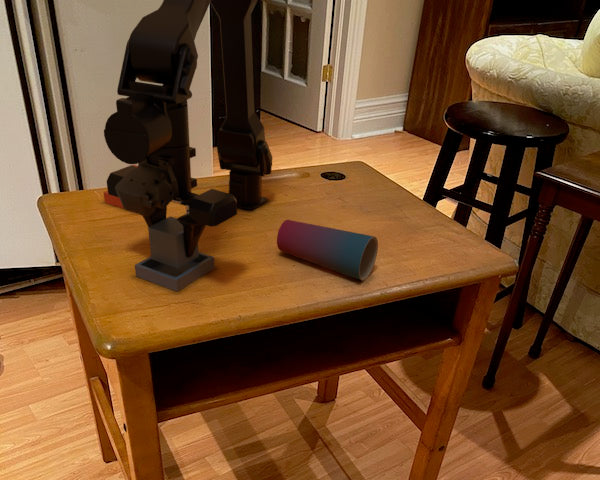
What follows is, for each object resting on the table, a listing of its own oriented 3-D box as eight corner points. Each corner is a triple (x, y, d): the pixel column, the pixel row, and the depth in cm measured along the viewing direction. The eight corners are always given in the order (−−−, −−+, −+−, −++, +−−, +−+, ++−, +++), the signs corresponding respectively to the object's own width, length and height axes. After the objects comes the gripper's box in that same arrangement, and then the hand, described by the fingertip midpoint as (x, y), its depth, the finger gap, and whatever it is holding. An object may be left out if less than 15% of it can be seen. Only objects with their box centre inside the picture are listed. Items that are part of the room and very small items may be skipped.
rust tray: (138, 188, 113) (137, 178, 112) (170, 198, 111) (169, 188, 110) (104, 202, 107) (103, 192, 106) (137, 213, 104) (136, 202, 103)
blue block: (172, 247, 90) (170, 216, 87) (198, 256, 88) (197, 224, 85) (151, 259, 86) (147, 227, 83) (178, 268, 85) (176, 236, 82)
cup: (284, 207, 92) (371, 229, 86) (299, 223, 98) (381, 245, 93) (269, 248, 92) (355, 273, 86) (285, 261, 98) (366, 285, 93)
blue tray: (174, 254, 93) (174, 243, 92) (214, 268, 91) (214, 256, 90) (135, 276, 87) (134, 264, 86) (177, 291, 84) (176, 280, 83)
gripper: (68, 140, 74) (87, 253, 84) (186, 174, 68) (192, 292, 78) (128, 122, 82) (139, 228, 92) (239, 151, 76) (239, 261, 86)
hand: (174, 251), depth 87 cm, fingers closed on blue block, 5 cm apart
